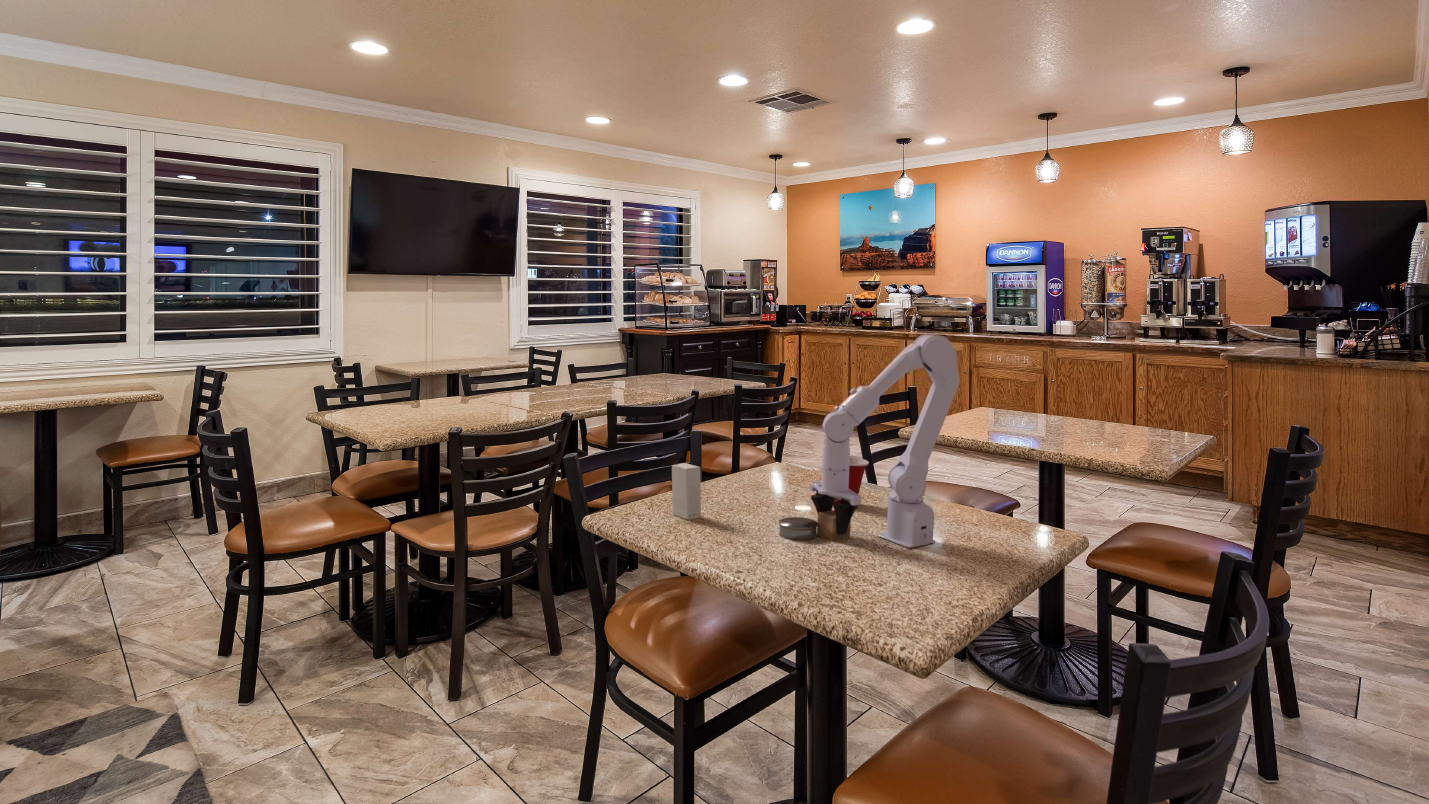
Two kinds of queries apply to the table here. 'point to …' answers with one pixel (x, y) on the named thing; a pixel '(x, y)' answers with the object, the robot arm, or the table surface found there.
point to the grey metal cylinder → (798, 528)
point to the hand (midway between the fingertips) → (833, 530)
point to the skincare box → (686, 491)
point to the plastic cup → (855, 474)
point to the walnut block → (830, 526)
